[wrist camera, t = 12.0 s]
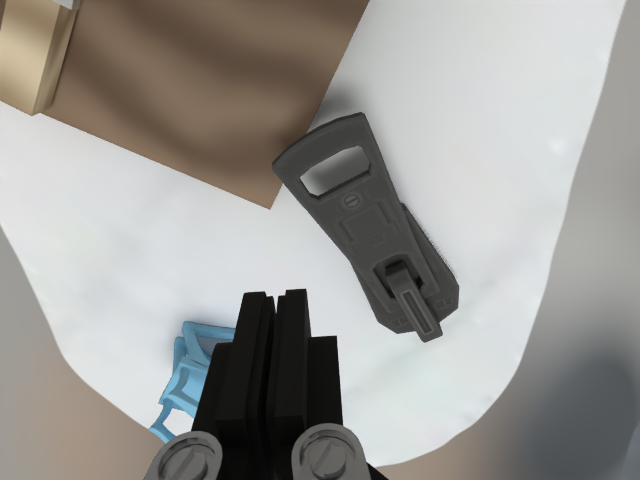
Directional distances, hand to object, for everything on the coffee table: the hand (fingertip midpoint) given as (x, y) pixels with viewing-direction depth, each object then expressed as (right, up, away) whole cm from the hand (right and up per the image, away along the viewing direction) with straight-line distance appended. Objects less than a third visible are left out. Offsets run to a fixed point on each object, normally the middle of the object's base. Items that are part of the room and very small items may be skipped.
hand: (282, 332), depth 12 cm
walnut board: (-9, +19, +20) cm, 29 cm away
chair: (-11, -9, +36) cm, 39 cm away
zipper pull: (+6, +4, +29) cm, 30 cm away
